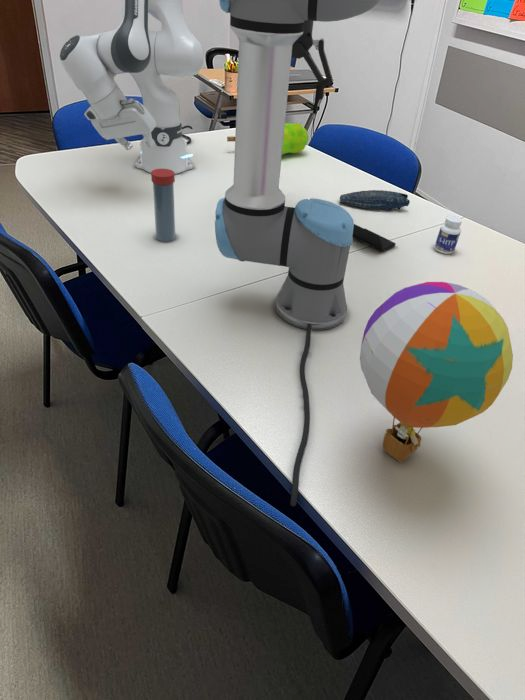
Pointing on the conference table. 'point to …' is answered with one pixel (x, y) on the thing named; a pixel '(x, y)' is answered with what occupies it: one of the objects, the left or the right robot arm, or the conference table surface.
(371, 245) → the handheld gaming console
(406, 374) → the toy
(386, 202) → the fish model
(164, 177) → the lid
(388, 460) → the conference table surface
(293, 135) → the decorative tree
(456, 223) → the pill bottle
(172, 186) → the blue-grey tall cylinder
